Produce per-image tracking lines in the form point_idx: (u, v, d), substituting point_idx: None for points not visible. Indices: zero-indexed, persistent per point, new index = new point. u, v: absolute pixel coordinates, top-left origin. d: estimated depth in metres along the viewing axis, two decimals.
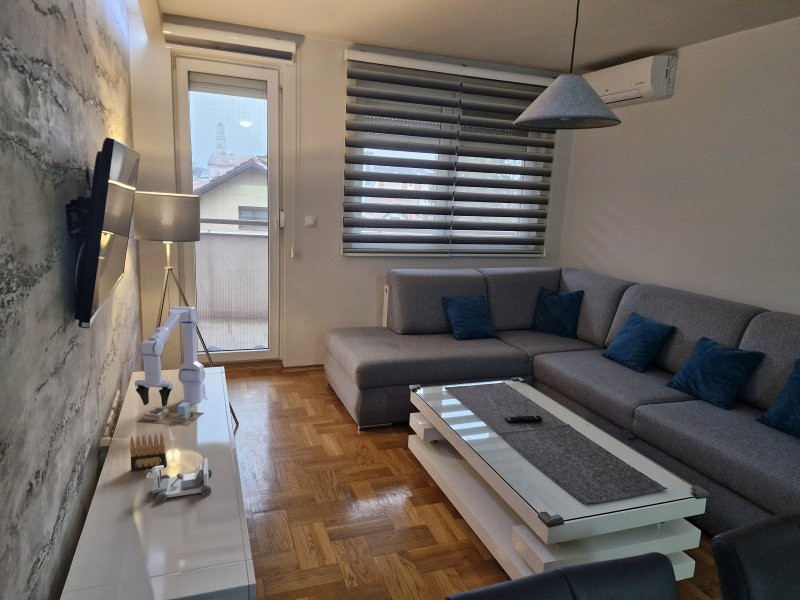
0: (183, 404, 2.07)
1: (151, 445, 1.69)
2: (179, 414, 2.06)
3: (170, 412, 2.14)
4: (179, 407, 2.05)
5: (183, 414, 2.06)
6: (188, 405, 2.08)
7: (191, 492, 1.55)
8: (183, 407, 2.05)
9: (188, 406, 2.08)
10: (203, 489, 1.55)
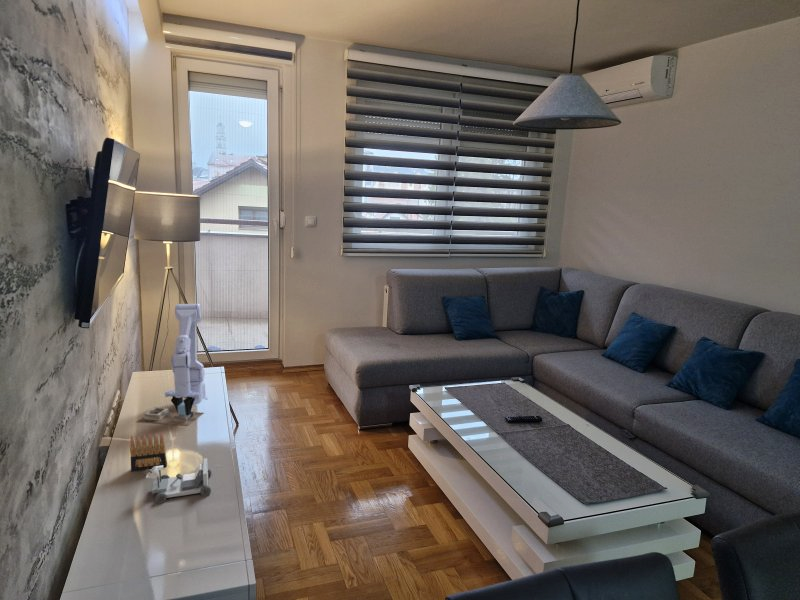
0: (183, 404, 2.07)
1: (151, 445, 1.69)
2: (179, 414, 2.06)
3: (170, 412, 2.14)
4: (179, 407, 2.05)
5: (183, 414, 2.06)
6: None
7: (191, 492, 1.55)
8: (183, 407, 2.05)
9: None
10: (203, 489, 1.55)
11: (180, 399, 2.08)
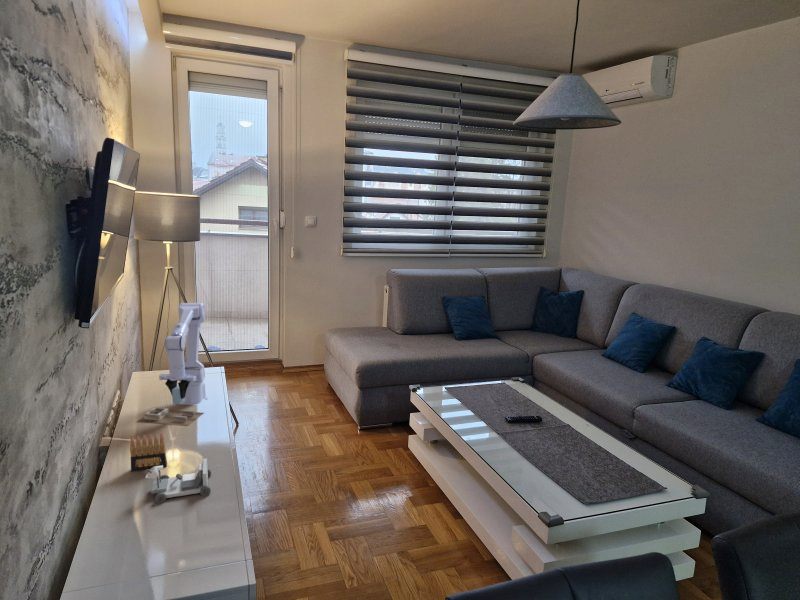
0: (177, 388, 2.06)
1: (151, 445, 1.69)
2: (173, 398, 2.05)
3: (170, 412, 2.14)
4: (173, 391, 2.04)
5: (177, 398, 2.05)
6: None
7: (191, 492, 1.55)
8: (177, 391, 2.04)
9: None
10: (202, 489, 1.55)
11: (175, 382, 2.07)
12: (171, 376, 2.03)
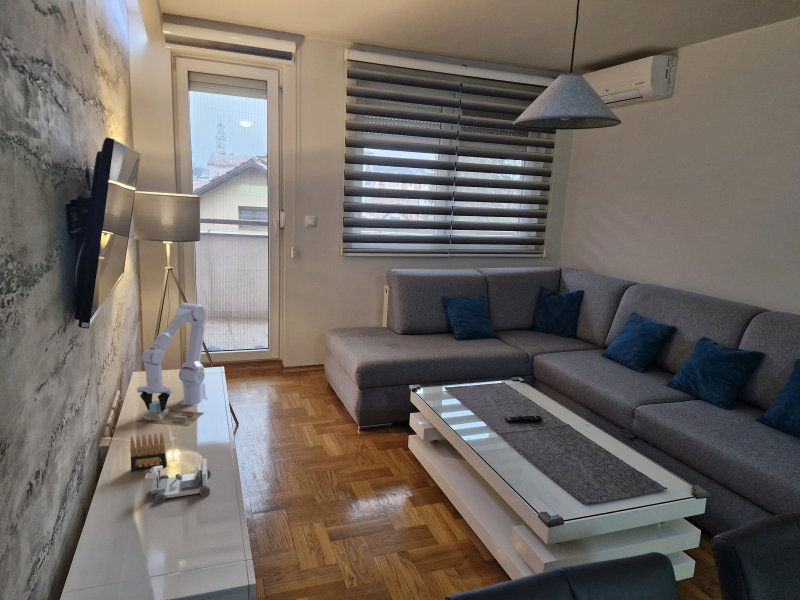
0: (155, 402, 2.08)
1: (151, 445, 1.69)
2: (151, 412, 2.07)
3: (170, 412, 2.14)
4: (151, 405, 2.07)
5: (155, 412, 2.07)
6: None
7: (190, 492, 1.55)
8: (155, 405, 2.06)
9: None
10: (202, 490, 1.55)
11: (150, 395, 2.09)
12: (148, 389, 2.05)
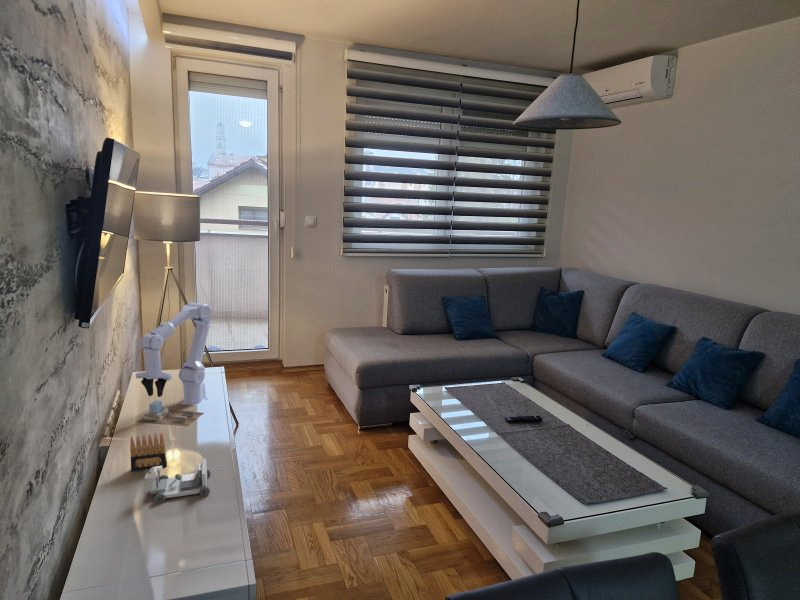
0: (155, 402, 2.08)
1: (151, 445, 1.69)
2: (151, 412, 2.07)
3: (170, 412, 2.14)
4: (151, 405, 2.07)
5: (155, 412, 2.07)
6: (160, 403, 2.09)
7: (190, 492, 1.55)
8: (155, 405, 2.06)
9: (160, 404, 2.09)
10: (201, 490, 1.55)
11: (151, 381, 2.08)
12: (147, 374, 2.04)
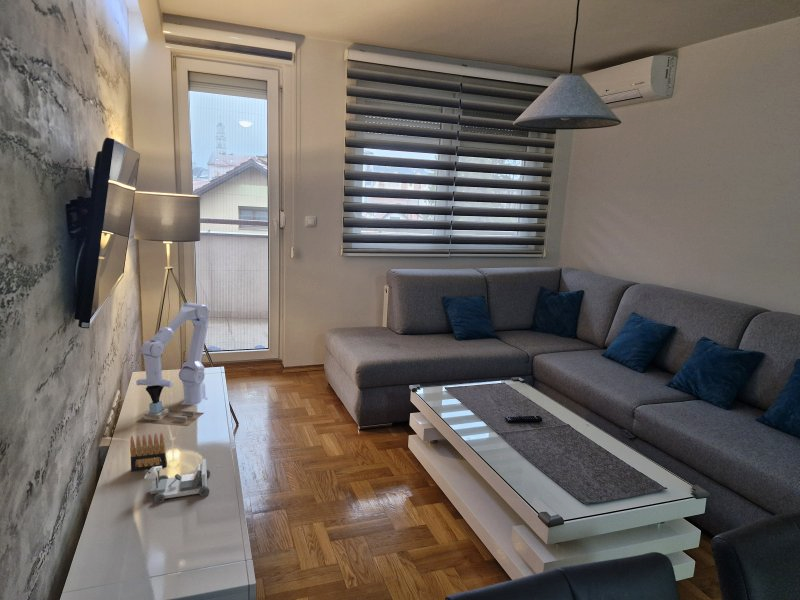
0: None
1: (151, 445, 1.69)
2: (151, 412, 2.07)
3: (170, 412, 2.14)
4: (151, 405, 2.07)
5: (155, 412, 2.07)
6: (160, 403, 2.09)
7: (189, 493, 1.55)
8: (155, 405, 2.06)
9: (160, 404, 2.09)
10: (201, 490, 1.55)
11: None
12: (148, 381, 2.04)
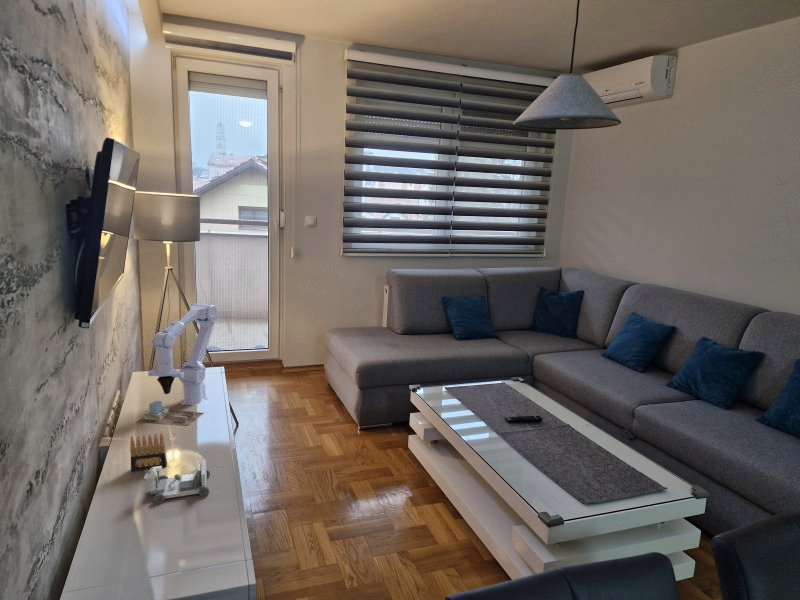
0: (155, 402, 2.08)
1: (151, 445, 1.69)
2: (151, 412, 2.07)
3: (170, 412, 2.14)
4: (151, 405, 2.07)
5: (155, 412, 2.07)
6: (160, 403, 2.09)
7: (189, 493, 1.55)
8: (155, 405, 2.06)
9: (160, 404, 2.09)
10: (201, 490, 1.55)
11: None
12: (159, 372, 2.07)
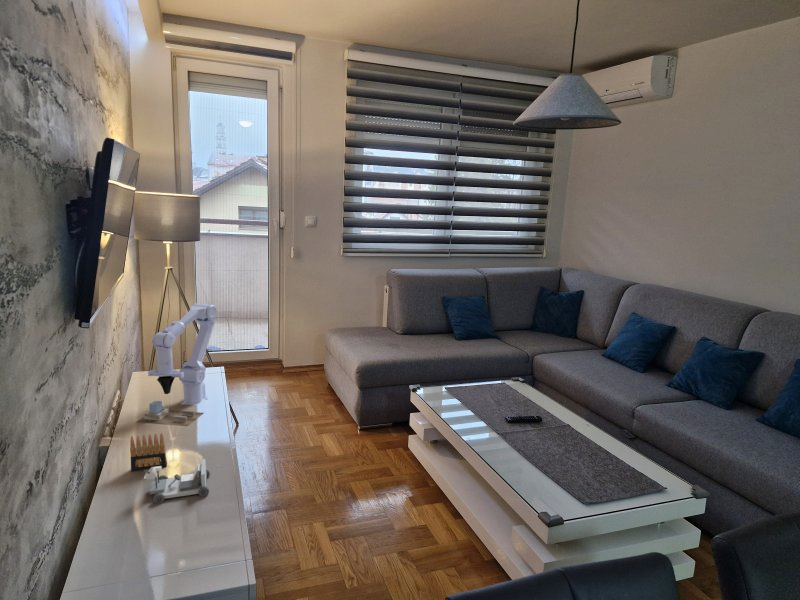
0: (155, 402, 2.08)
1: (151, 445, 1.69)
2: (151, 412, 2.07)
3: (170, 412, 2.14)
4: (151, 405, 2.07)
5: (155, 412, 2.07)
6: (160, 403, 2.09)
7: (189, 493, 1.55)
8: (155, 405, 2.06)
9: (160, 404, 2.09)
10: (201, 490, 1.55)
11: None
12: (159, 372, 2.07)
